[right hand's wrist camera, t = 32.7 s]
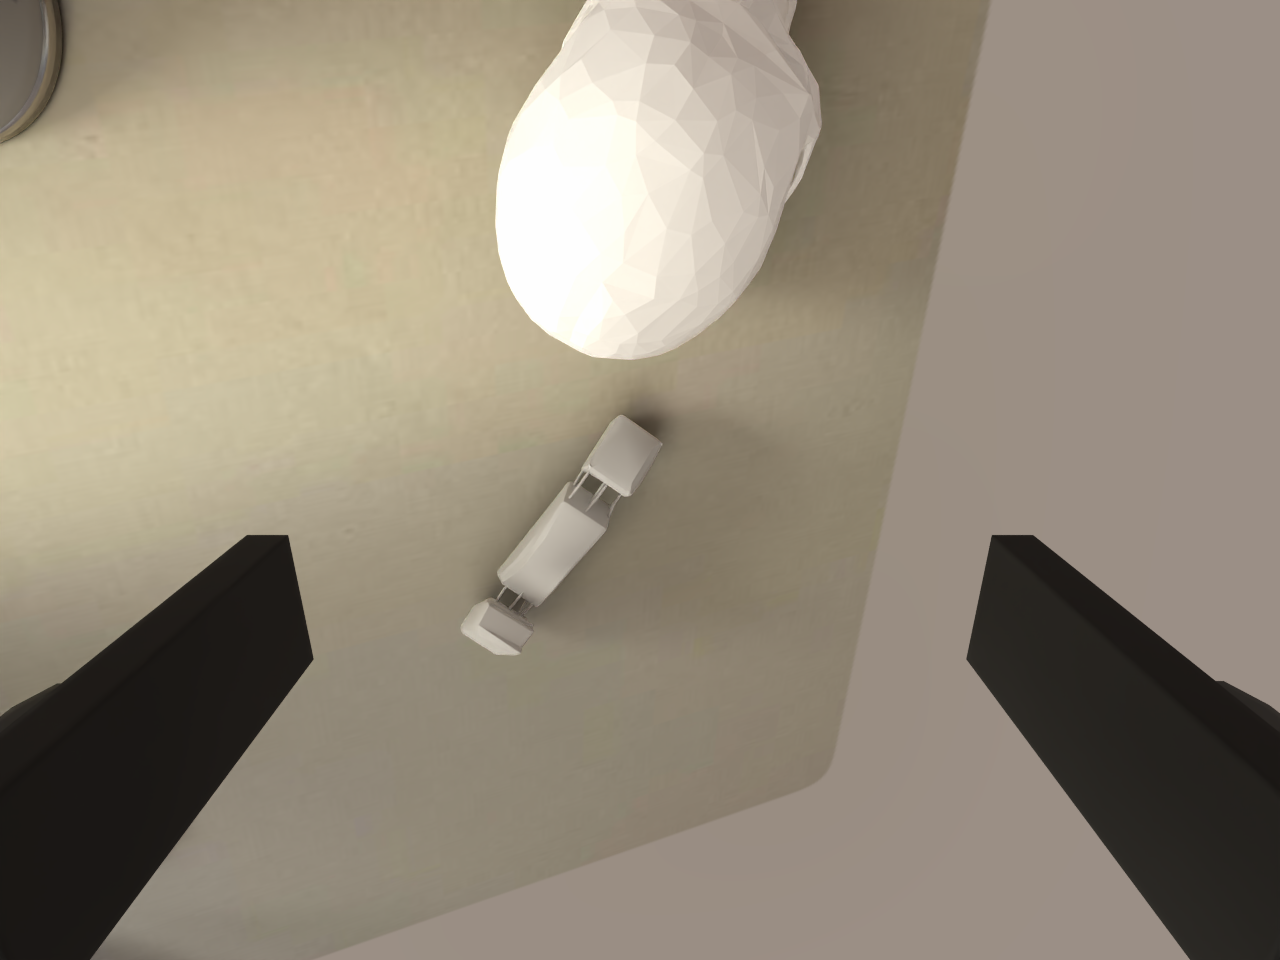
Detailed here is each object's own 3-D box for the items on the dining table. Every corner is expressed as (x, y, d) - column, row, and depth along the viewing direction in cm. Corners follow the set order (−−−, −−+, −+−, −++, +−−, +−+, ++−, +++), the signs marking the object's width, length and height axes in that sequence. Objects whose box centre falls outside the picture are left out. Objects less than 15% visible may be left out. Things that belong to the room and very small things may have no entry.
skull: (864, 8, 37) (1001, -142, 22) (686, 369, 44) (698, 439, 29) (644, -117, 35) (630, -368, 20) (496, 279, 43) (406, 305, 28)
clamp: (503, 644, 51) (490, 697, 45) (460, 619, 50) (441, 670, 44) (661, 434, 47) (672, 459, 41) (618, 403, 46) (622, 423, 40)
